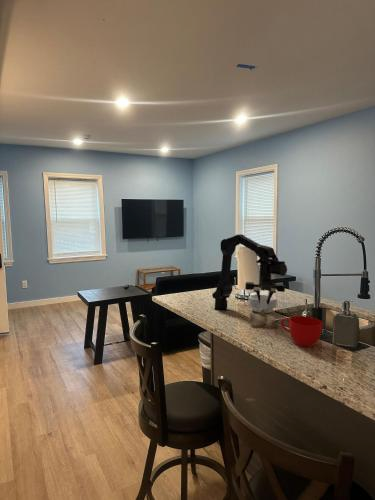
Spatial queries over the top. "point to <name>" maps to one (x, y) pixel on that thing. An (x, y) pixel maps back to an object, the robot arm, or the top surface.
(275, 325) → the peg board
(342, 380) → the top surface
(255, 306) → the paper bowls
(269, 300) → the robot arm
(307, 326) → the ceramic cup
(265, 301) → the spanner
